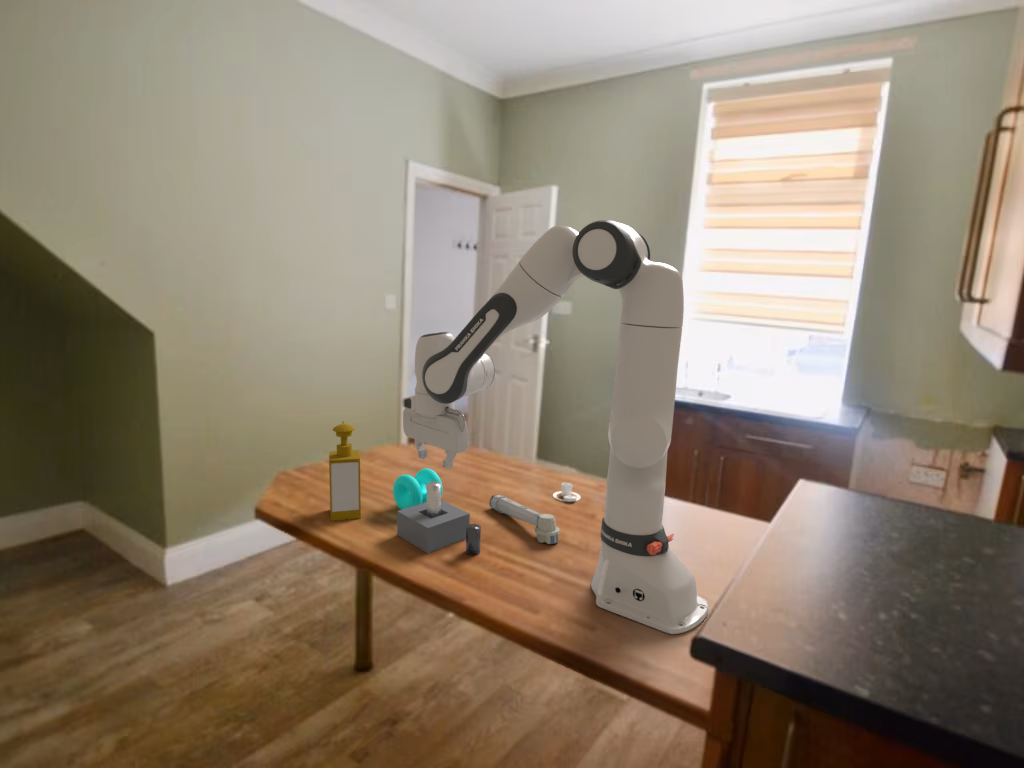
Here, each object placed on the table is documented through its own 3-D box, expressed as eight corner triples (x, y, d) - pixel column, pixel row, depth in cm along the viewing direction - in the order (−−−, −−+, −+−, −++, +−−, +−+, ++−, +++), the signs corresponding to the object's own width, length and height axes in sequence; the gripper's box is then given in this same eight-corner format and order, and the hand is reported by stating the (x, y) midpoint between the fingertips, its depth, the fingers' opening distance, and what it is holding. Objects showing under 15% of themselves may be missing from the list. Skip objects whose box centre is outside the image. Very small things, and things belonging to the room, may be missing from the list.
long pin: (442, 536, 131) (443, 484, 129) (431, 540, 129) (432, 487, 126) (434, 532, 133) (435, 480, 131) (423, 536, 131) (424, 483, 129)
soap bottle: (358, 499, 151) (357, 415, 147) (360, 518, 139) (359, 427, 135) (330, 501, 149) (328, 416, 145) (330, 521, 137) (328, 428, 133)
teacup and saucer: (576, 506, 153) (577, 492, 153) (548, 501, 156) (549, 487, 155) (583, 495, 162) (584, 481, 161) (556, 491, 164) (557, 477, 163)
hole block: (469, 537, 131) (469, 513, 130) (427, 553, 123) (427, 528, 122) (437, 521, 139) (438, 498, 138) (397, 534, 131) (397, 511, 130)
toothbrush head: (503, 492, 150) (563, 512, 130) (504, 516, 151) (564, 540, 130) (486, 495, 147) (546, 517, 127) (487, 520, 148) (547, 546, 127)
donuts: (390, 508, 146) (390, 471, 145) (419, 497, 154) (420, 463, 152) (415, 519, 140) (415, 481, 138) (444, 508, 148) (445, 472, 146)
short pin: (483, 552, 124) (483, 527, 123) (472, 557, 122) (472, 531, 121) (473, 547, 126) (474, 522, 125) (462, 551, 124) (463, 526, 123)
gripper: (475, 409, 120) (475, 470, 123) (420, 395, 134) (420, 450, 137) (452, 413, 116) (452, 477, 118) (397, 398, 130) (398, 455, 132)
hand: (434, 462), depth 128 cm, fingers open, 8 cm apart
